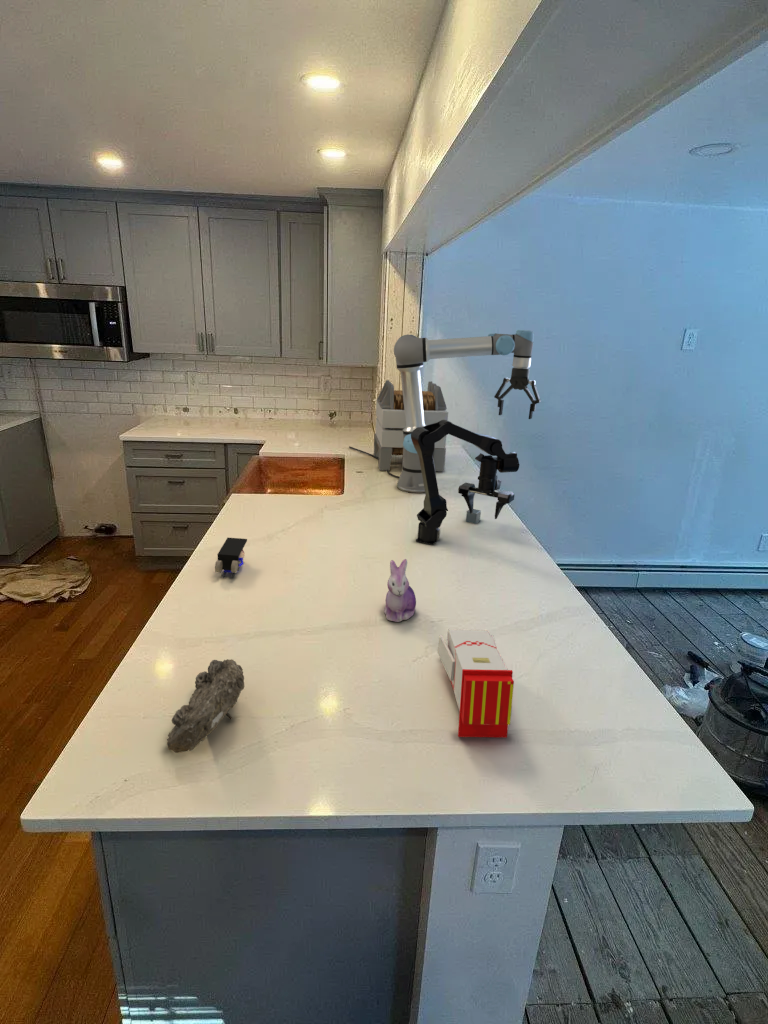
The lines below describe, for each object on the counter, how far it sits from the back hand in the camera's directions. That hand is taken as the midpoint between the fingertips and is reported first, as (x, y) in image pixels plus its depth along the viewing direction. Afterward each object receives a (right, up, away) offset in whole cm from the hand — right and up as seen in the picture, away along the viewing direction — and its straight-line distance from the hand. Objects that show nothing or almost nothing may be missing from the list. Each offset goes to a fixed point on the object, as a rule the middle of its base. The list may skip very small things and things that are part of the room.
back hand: (515, 416), depth 251 cm
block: (-24, -46, -36) cm, 63 cm away
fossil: (-91, -81, -143) cm, 188 cm away
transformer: (-46, -17, +41) cm, 64 cm away
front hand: (-23, -44, -52) cm, 72 cm away
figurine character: (-103, -59, -84) cm, 145 cm away
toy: (-40, -80, -133) cm, 160 cm away
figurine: (-54, -69, -104) cm, 136 cm away
